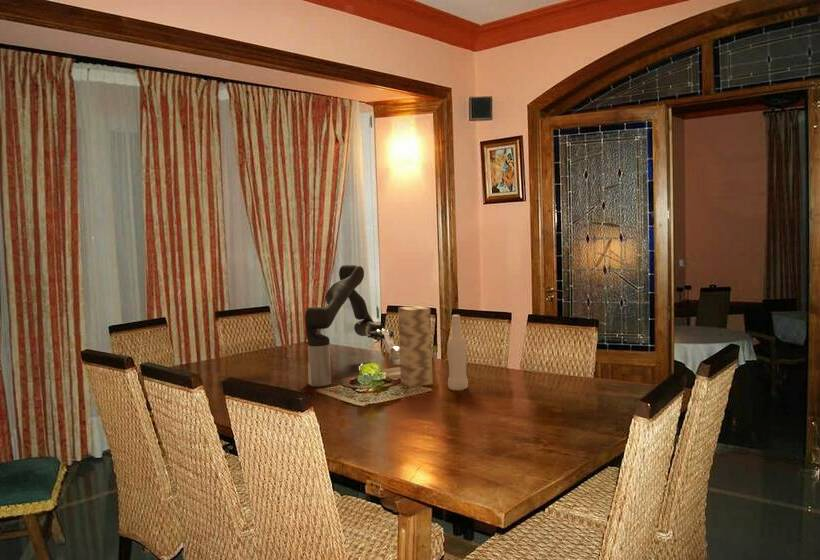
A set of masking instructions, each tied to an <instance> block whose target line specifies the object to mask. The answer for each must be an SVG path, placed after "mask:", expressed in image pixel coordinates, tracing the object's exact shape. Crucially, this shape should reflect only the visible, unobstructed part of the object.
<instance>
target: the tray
mask: <svg viewBox="0 0 820 560" xmlns="http://www.w3.org/2000/svg"><path fill="white" fill-rule="evenodd" d="M380 370H382V371H384V372H386V373H387V374H388V375H387V377H392V378H401V372H400V366H399V367H398V366H397V367H391V368H384V369H383V368H382V369H380Z"/></svg>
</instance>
